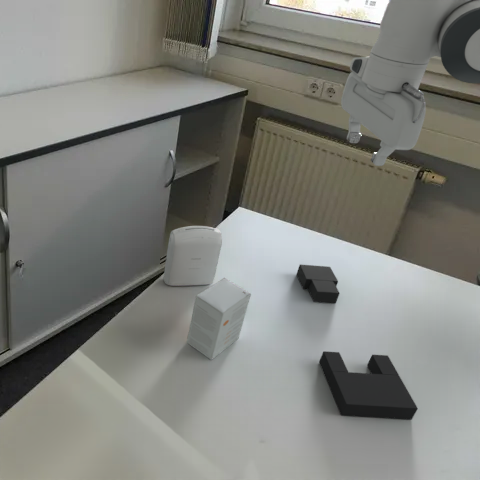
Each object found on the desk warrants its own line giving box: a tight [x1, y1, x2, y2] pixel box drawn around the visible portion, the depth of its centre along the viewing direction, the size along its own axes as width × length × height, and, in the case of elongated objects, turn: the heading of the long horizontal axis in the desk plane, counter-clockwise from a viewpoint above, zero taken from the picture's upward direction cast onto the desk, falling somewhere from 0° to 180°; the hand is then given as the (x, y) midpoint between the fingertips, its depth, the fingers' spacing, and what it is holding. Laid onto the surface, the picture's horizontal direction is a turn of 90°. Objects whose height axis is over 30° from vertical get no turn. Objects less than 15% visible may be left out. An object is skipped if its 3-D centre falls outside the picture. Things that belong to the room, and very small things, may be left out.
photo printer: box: [162, 225, 223, 287], centre depth 104 cm, size 10×4×12 cm, turn 99°
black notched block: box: [318, 350, 418, 421], centre depth 86 cm, size 11×11×3 cm
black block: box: [296, 264, 340, 304], centre depth 108 cm, size 9×6×3 cm
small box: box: [186, 277, 252, 361], centre depth 90 cm, size 8×6×10 cm
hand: (363, 152), depth 96 cm, fingers open, 8 cm apart
